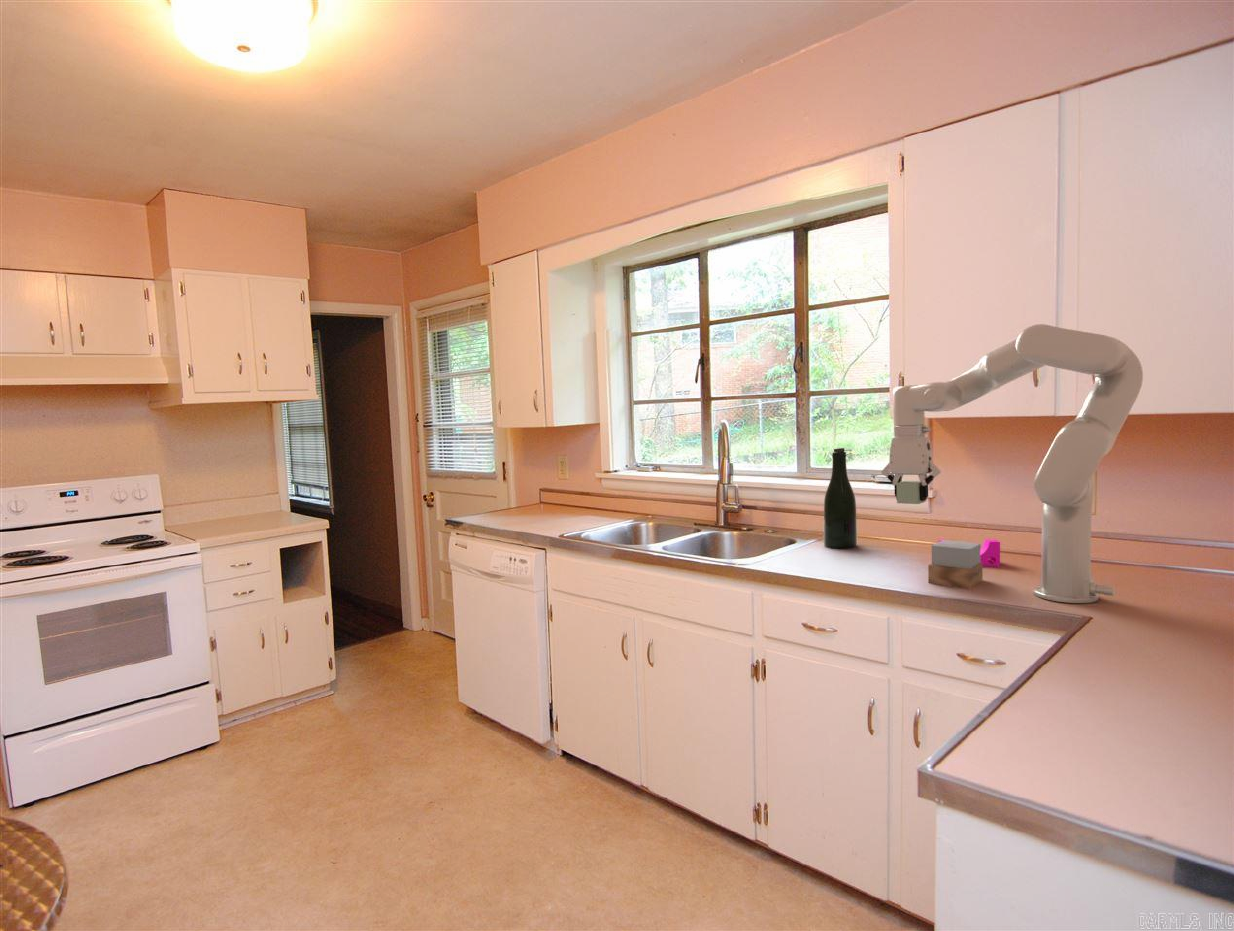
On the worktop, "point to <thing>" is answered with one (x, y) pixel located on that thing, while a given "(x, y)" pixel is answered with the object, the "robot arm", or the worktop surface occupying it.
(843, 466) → the dark green wine bottle
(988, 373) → the robot arm
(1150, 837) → the worktop surface
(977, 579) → the tower bottom
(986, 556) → the toy block
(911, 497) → the sage cube
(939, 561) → the tower top
